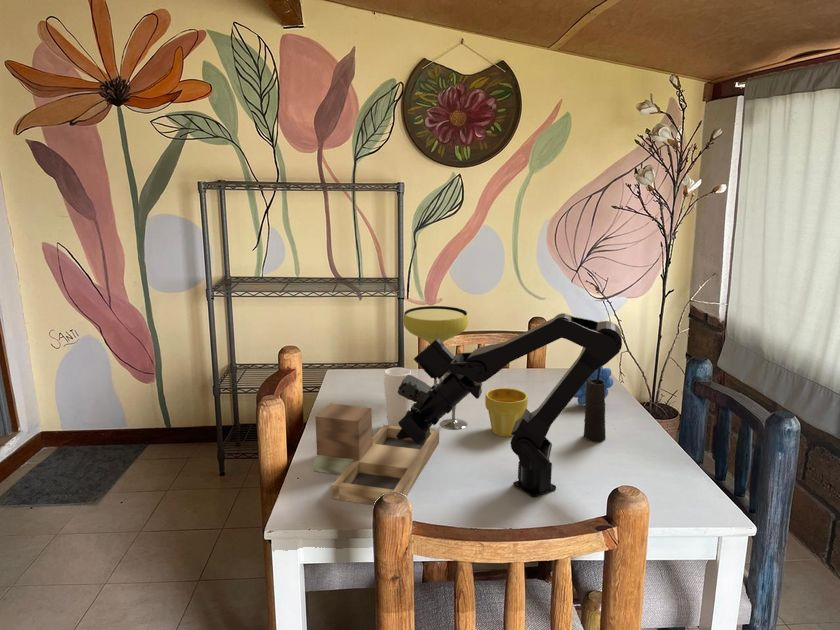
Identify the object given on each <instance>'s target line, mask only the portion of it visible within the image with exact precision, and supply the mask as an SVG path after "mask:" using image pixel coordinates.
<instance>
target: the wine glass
mask: <svg viewBox="0 0 840 630" xmlns="http://www.w3.org/2000/svg"><path fill="white" fill-rule="evenodd" d="M450 373H451V371H450V370H449V371H448V372H447V373H445V374H444V375H443V376H442V377H441V378H440V379H438V384H439V383H440V382H441V381H442V380H443V379H444V378H445V377H446V376H447V375H449V374H450ZM456 409H457V404H456V405H455V406H454V407H453V409H452V410H451V418H446V419H443V420H440V422H439V426H440V427H441V428H443V429H446V430H452V431H455V430H462V429H465V428H467V426H468V422H466V421H465V420H463V419H461V418H456Z"/></svg>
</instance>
